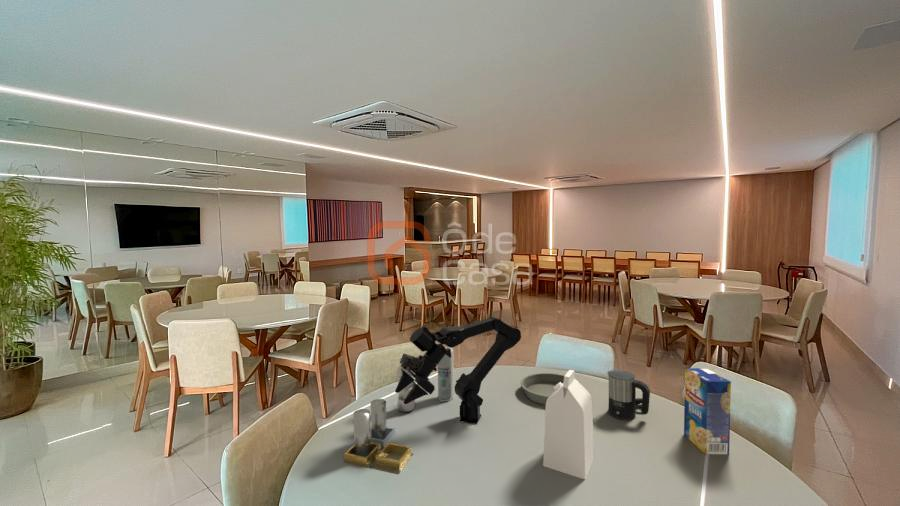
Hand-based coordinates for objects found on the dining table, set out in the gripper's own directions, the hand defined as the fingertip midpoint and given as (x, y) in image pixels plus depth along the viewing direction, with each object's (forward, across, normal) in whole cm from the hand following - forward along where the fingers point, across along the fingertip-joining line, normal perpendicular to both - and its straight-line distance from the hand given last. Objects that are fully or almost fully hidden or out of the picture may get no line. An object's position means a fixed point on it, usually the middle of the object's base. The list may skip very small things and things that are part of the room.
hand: (400, 397), depth 121 cm
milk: (-19, +34, +38) cm, 54 cm away
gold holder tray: (+16, +10, +2) cm, 19 cm away
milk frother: (-48, +21, +66) cm, 85 cm away
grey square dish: (+14, 0, +4) cm, 15 cm away
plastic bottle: (+4, -16, +14) cm, 22 cm away
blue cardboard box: (-50, +46, +69) cm, 97 cm away
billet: (+14, 0, +4) cm, 15 cm away
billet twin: (+18, +7, -1) cm, 20 cm away
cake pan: (-37, -4, +56) cm, 67 cm away
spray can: (-8, -19, +27) cm, 34 cm away
